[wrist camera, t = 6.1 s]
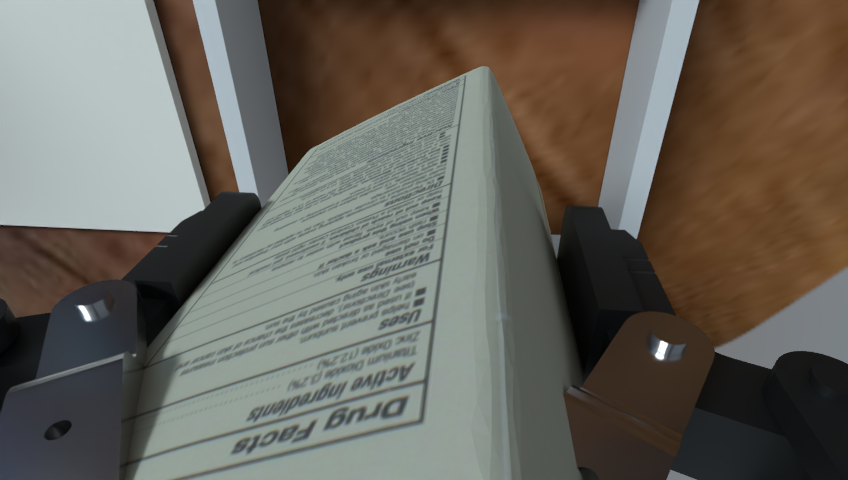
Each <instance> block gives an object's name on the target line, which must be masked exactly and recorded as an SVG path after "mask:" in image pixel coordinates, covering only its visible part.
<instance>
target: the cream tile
mask: <svg viewBox="0 0 848 480" xmlns="http://www.w3.org/2000/svg"><path fill="white" fill-rule="evenodd" d="M210 203H211V202H210V199H209V195H208V192H207V188H206V185H205V181H204V178H203V174H202V171H201V167H200V164H199V160H198V157H197V153H196V149H195V146H194V142H193V139H192V135H191V132H190V128H189V125H188V121H187V118H186V114H185V111H184V107H183V103H182V100H181V96H180V93H179V89H178V86H177V82H176V79H175V75H174V72H173V68H172V65H171V61H170V58H169V54H168V50H167V47H166V43H165V40H164V36H163V33H162V29H161V26H160V22H159V19H158V15H157V12H156V8H155V4H154V1H153V0H0V225H17V226H39V227H61V228H83V229H105V230H128V231H150V232H171V231H172V230H173V229H174V228H175V227H176V226H177V225H178V224H179V223H180V222H181V221H183V220H185V219H186V218H188V217H190V216H192V215H194V214H196V213H197V212H199V211H203V210H204V209H205V208H206V207H207V206H208V205H209V204H210Z"/></svg>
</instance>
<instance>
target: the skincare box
mask: <svg viewBox="0 0 848 480" xmlns="http://www.w3.org/2000/svg"><path fill="white" fill-rule="evenodd" d="M584 382H585V378H584V373H583V369H582V365H581V361H580V356H579V352H578V348H577V344H576V340H575V335H574V331H573V327H572V323H571V319H570V314H569V310H568V306H567V302H566V297H565V293H564V289H563V284H562V280H561V275H560V271H559V267H558V262H557V258H556V254H555V249H554V245H553V241H552V236H551V232H550V227H549V223H548V219H547V214H546V210H545V205H544V201H543V197H542V192H541V188H540V186H539V184H538V181H537V178H536V176H535V173H534V170H533V168H532V165H531V163H530V160H529V157H528V155H527V152H526V150H525V147H524V145H523V143H522V140H521V138H520V135H519V133H518V130H517V128H516V126H515V123H514V121H513V118H512V116H511V113H510V111H509V109H508V106H507V104H506V102H505V99H504V97H503V95H502V92H501V90H500V88H499V86H498V83H497V81H496V79H495V76H494V74H493V72H492V71H491V70H490V69H489V67H485V66H482V67H479V68H476V69H474V70H472V71H470V72H468V73H465V74H463V75H461V76H459V77H456V78H454V79H452V80H450V81H448V82H446V83H443V84H441V85H439V86H437V87H435V88H433V89H431V90H428V91H426V92H424V93H422V94H420V95H418V96H416V97H414V98H412V99H410V100H407V101H405V102H403V103H401V104H399V105H397V106H395V107H393V108H391V109H389V110H387V111H385V112H383V113H381V114H379V115H377V116H375V117H373V118H370V119H368V120H366V121H364V122H362V123H360V124H358V125H356V126H354V127H352V128H350V129H348V130H346V131H344V132H342V133H340V134H339V135H337V136H335V137H333V138H331V139H329V140H327V141H325V142H323V143H321V144H319V145H317V146H315V147H314V148H312V149H310V150H309V151H308V152H307V153H306V154H305V155H304V157H303V158H302V159H301V161H300V162H299V163H298V164H297V165H296V167H295V168H294V169H293V170H292V171H291V173H290V174H289V175H288V177H287V178H286V179H285V180H284V181H283V183H282V184H281V185H280V186H279V188H278V189H277V190H276V191H275V193H274V194H273V195H272V196H271V197H270V199H269V200H268V201H267V202H266V204H265V205H264V206H263V207H262V208H261V210H260V211H259V212H258V213H257V214H256V215H255V217H254V218H253V219H252V220H251V222H250V223H249V224H248V225H247V227H246V228H245V229H244V230H243V231H242V233H241V234H240V235H239V236H238V238H237V239H236V240H235V241H234V243H233V244H232V245H231V246H230V247H229V249H228V250H227V251H226V252H225V254H224V255H223V256H222V257H221V259H220V260H219V261H218V262H217V264H216V265H215V266H214V268H213V269H212V270H211V271H210V272H209V274H208V275H207V276H206V277H205V278H204V279H203V281H202V282H201V283H200V284H199V285H198V287H197V288H196V289H195V290H194V292H193V293H192V294H191V295H190V296H189V298H188V299H187V300H186V301H185V303H184V304H183V305H182V306H181V308H180V309H179V310H178V311H177V313H176V314H175V315H174V316H173V317H172V319H171V320H170V321H169V322H168V323H167V325H166V326H165V327H164V328H163V329H162V331H161V332H160V333H159V334H158V336H157V337H156V338H155V339H154V341H153V342H152V343H151V344H150V346H149V347H148V348H147V359H146V365H145V370H144V376H143V381H142V386H141V392H140V397H139V403H138V409H137V414H136V420H135V425H134V431H133V437H132V443H131V448H130V454H129V460H128V465H127V471H126V476H125V480H584V479H583V477H582V475H581V473H580V472H579V470H578V468H577V464H576V459H575V454H574V448H573V443H572V437H571V432H570V427H569V421H568V416H567V411H566V406H565V401H564V396H563V395H564V394H565V392H566V391H567V390H568V389H569V388H570V387H571V386H573V385H575V386H577V387H579V388H581V387H582V385H583V384H584Z"/></svg>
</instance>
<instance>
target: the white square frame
mask: <svg viewBox="0 0 848 480" xmlns="http://www.w3.org/2000/svg"><path fill="white" fill-rule="evenodd" d="M193 3H194V7H195V11H196V15H197V19H198V24H199V28H200V32H201V36H202V40H203V44H204V48H205V52H206V56H207V61H208V65H209V69H210V73H211V77H212V81H213V85H214V89H215V93H216V97H217V102H218V106H219V110H220V114H221V118H222V122H223V126H224V130H225V134H226V139H227V143H228V147H229V151H230V155H231V159H232V163H233V167H234V171H235V176H236V180H237V184H238V188H239V192H247V193H255V194H256V195H257V196H258V198H259V200H260V203H261V207H263V206H264V205H265V204H266V202H267V201H268V200H269V199H270V197H271V196H272V195H273V194H274V193H275V191H276V190H277V189H278V188H279V186H280V185H281V184H282V183H283V181H284V180H285V179H286V178H287V177H288V175H289V174H288V168H287V163H286V157H285V151H284V146H283V140H282V135H281V129H280V123H279V118H278V112H277V107H276V101H275V95H274V90H273V84H272V79H271V73H270V67H269V62H268V56H267V51H266V45H265V40H264V34H263V28H262V23H261V17H260V12H259V6H258V0H193ZM698 3H699V0H640V1H639V6H638V11H637V16H636V21H635V26H634V31H633V35H632V40H631V45H630V50H629V55H628V60H627V65H626V70H625V75H624V80H623V85H622V90H621V95H620V100H619V105H618V110H617V115H616V120H615V125H614V129H613V134H612V139H611V144H610V149H609V154H608V159H607V164H606V169H605V174H604V179H603V184H602V189H601V194H600V199H599V204H598V207H602V208H603V210H604V213H605V215H606V218H607V220H608V223H609V225H610V228H611V229H616V230H626V231H627V232H628V233H629V234H631V235H632V236H633V237H634V238H635V239H637V236H638V232H639V229H640V225H641V221H642V217H643V213H644V210H645V206H646V202H647V198H648V194H649V190H650V187H651V183H652V179H653V175H654V171H655V167H656V164H657V160H658V156H659V152H660V148H661V145H662V141H663V137H664V133H665V129H666V125H667V122H668V118H669V114H670V110H671V106H672V103H673V99H674V95H675V91H676V87H677V83H678V80H679V76H680V72H681V68H682V64H683V60H684V57H685V53H686V49H687V45H688V41H689V38H690V34H691V30H692V26H693V22H694V18H695V15H696V11H697V7H698ZM551 236H552V241H553V245H554V249H555V254H556V258H557V254H558V248H559V242H560V236H561V235H551Z"/></svg>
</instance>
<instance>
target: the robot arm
mask: <svg viewBox="0 0 848 480" xmlns="http://www.w3.org/2000/svg"><path fill="white" fill-rule="evenodd" d="M261 208H262V207H261V203H260V200H259V198H258V196H257V195H256V194H255V193H247V192H221V193H220V194H219V195H218V196H217V197H216V198H215V199H214V200H213V201H212V202H211V203H210V204H209V205H208V206H207V207H206V208H205V209H204V210H203V211H199V212H197V213H196V214H194V215H192V216H190V217H188V218H186V219H185V220H183V221H181V222H180V223H179V224H178V225H177V226H176V227H175V228H174V229H173V230H172V231H171V232H170V233H169V234H168V237H165V238H164V239H163V240H162V241H161V242H159V243H158V244H157V245H158V247H154V248H153V249H152V250H151V251H150V252H149V253H148V254H147V255H146V256H145V257H144V258H143V259H142V260H141V261H140V262H139V263H138V264H137V265H136V266H135V267H134V268H133V269H132V270H131V271H130V272H129V273H128V274H127V275H126V276H124V277H123V278H122V279H121V280H105V281H100V282H96V283H92V284H89V285H86V286H84V287H81V288H79V289H77V290H75V291H73V292H71V293H70V294H68V295H67V296H65V297H64V298H63V299H61V300H60V301H59V302H58V303H57V304H56V305H55V306H54V308H53V309H52V311H51V313H45V314H39V315H32V316H25V317H19V318H15V316H14V315H13V313H12V312H11V310H10V308H9V307H8V305H7V304H6V302H5V301H4V300H3V299H0V480H125V476H126V471H127V465H128V460H129V454H130V448H131V443H132V437H133V431H134V425H135V420H136V414H137V409H138V403H139V397H140V392H141V386H142V381H143V376H144V370H145V365H146V359H147V348H148V347H149V346H150V344H151V343H152V342H153V341H154V339H155V338H156V337H157V336H158V334H159V333H160V332H161V331H162V329H163V328H164V327H165V326H166V325H167V323H168V322H169V321H170V320H171V319H172V317H173V316H174V315H175V314H176V313H177V311H178V310H179V309H180V308H181V306H182V305H183V304H184V303H185V301H186V300H187V299H188V298H189V296H190V295H191V294H192V293H193V292H194V290H195V289H196V288H197V287H198V285H199V284H200V283H201V282H202V281H203V279H204V278H205V277H206V276H207V275H208V274H209V272H210V271H211V270H212V269H213V268H214V266H215V265H216V264H217V262H218V261H219V260H220V259H221V257H222V256H223V255H224V254H225V252H226V251H227V250H228V249H229V247H230V246H231V245H232V244H233V243H234V241H235V240H236V239H237V238H238V236H239V235H240V234H241V233H242V231H243V230H244V229H245V228H246V227H247V225H248V224H249V223H250V222H251V220H252V219H253V218H254V217H255V215H256V214H257V213H258V212H259V211H260V210H261ZM557 262H558V267H559V271H560V275H561V280H562V284H563V289H564V293H565V297H566V302H567V306H568V310H569V314H570V319H571V323H572V327H573V331H574V335H575V340H576V344H577V348H578V352H579V356H580V361H581V365H582V369H583V373H584V378H585V382H584V384H583V385H582V387H581V388H579V387H577V386H575V385H573V386H571V387H570V388H569V389H568V390H567V391H566V392H565V394H564V395H563V396H564V401H565V406H566V411H567V416H568V421H569V427H570V432H571V437H572V443H573V448H574V454H575V459H576V464H577V468H578V470H579V472H580V473H581V475H582V477H583V479H584V480H666V479H667V477H668V474H669V472H670V469H671V470H673V471H676V472H679V473H681V474H684V475H687V476H689V477H692V478H695V479H697V480H848V364H847V363H844V362H842V361H840V360H838V359H835V358H832V357H830V356H826V355H823V354H819V353H814V352H807V351H794V352H789V353H786V354H783V355H782V356H781V357H779V358H778V360H777V361H776V363H775V365H774V366H773V368H772V369H768V368H765V367H761V366H757V365H754V364H751V363H747V362H743V361H740V360H737V359H733V358H730V357H727V356H724V355H721V354H719V353H717V352H715V350H714V347H713V344H712V342H711V341H710V339H709V338H708V336H707V335H706V334H705V333H704V332H703V331H702V330H701V329H699V328H698V327H697V326H695V325H694V324H692V323H690V322H689V321H687V320H685V319H682V318H680V317H678V316H676V314H675V312H674V310H673V308H672V306H671V304H670V302H669V300H668V298H667V296H666V294H665V292H664V289H663V287H662V285H661V283H660V281H659V279H658V277H657V275H656V274H654V269H653V267H652V265H651V263H650V261H648V256H647V254H646V252H645V250H644V248H643V246H642V244H641V243H640V242H639V241H638V240H637V239H635V238H634V237H633V236H632V235H631V234H629V233H628V232H627V231H626V230H616V229H611V228H610V225H609V223H608V220H607V218H606V215H605V213H604V210H603V208H602V207H585V206H567V207H566V210H565V213H564V218H563V224H562V230H561V236H560V242H559V248H558V254H557Z"/></svg>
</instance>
